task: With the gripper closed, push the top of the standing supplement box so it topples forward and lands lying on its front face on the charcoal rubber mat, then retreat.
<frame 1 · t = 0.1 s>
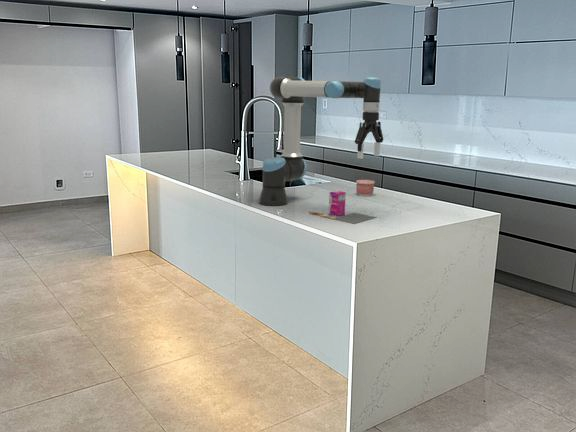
hand: (368, 157, 264), 28 cm above the countertop, fingers open, 13 cm apart
supplement box: (336, 215, 268), on the countertop
mat: (354, 218, 261), on the countertop
container: (364, 195, 319), on the countertop
turner: (323, 216, 263), on the countertop, touching mat
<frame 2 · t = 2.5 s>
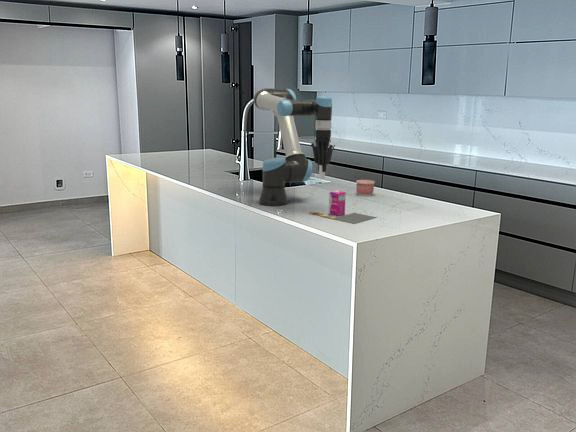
hand: (321, 178, 270), 17 cm above the countertop, fingers closed
nothing on the countertop moved.
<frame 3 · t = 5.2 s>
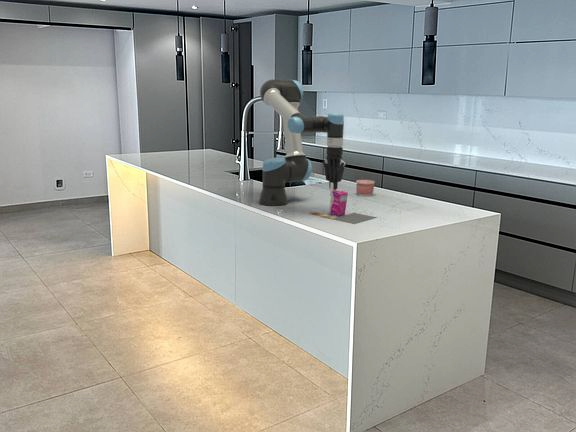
hand: (333, 195, 267), 9 cm above the countertop, fingers closed
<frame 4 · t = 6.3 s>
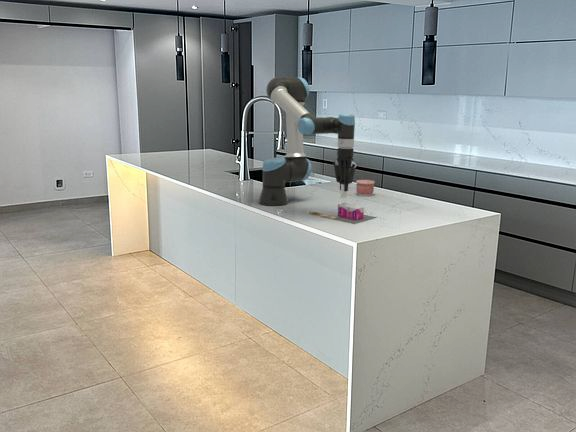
hand: (343, 197, 263), 9 cm above the countertop, fingers closed
supplement box: (340, 209, 265), point 3 cm above the countertop, touching mat
everything else where it was.
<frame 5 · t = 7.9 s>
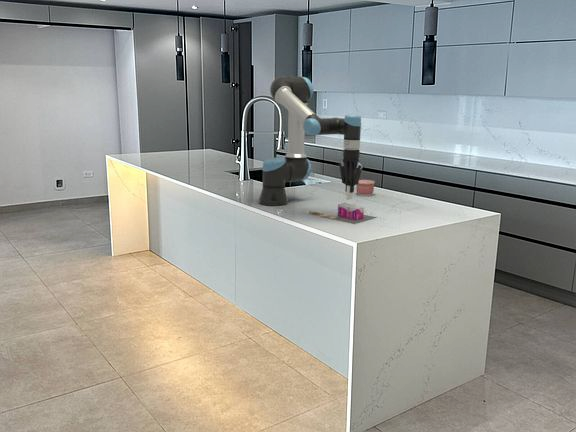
hand: (349, 199, 261), 9 cm above the countertop, fingers closed
nothing on the countertop moved.
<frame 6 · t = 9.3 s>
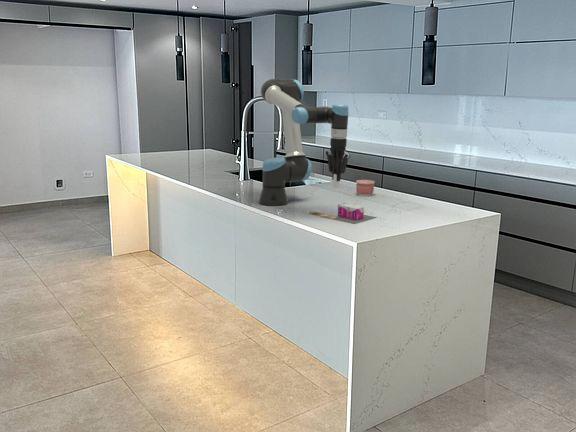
hand: (335, 187, 266), 13 cm above the countertop, fingers closed
nothing on the countertop moved.
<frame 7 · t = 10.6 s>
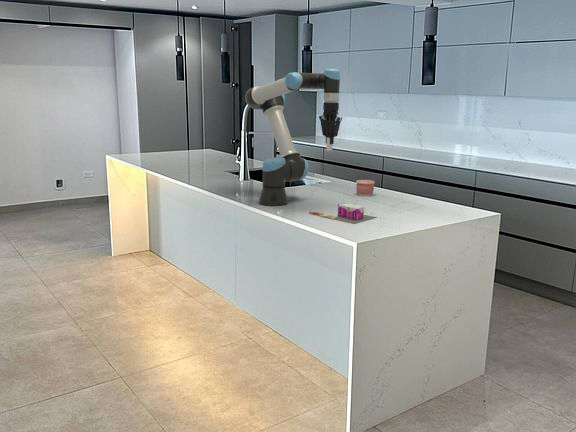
hand: (329, 150, 274), 29 cm above the countertop, fingers closed
nothing on the countertop moved.
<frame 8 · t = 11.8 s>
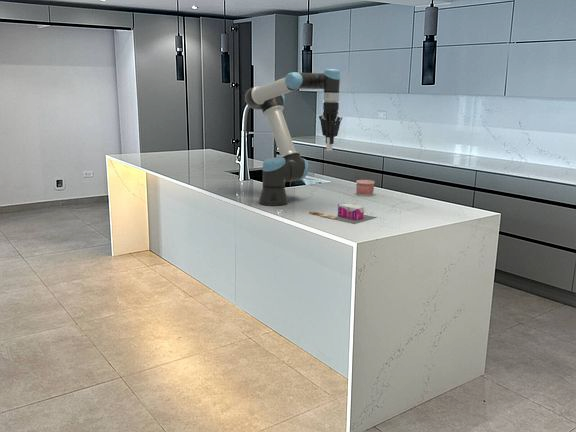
hand: (329, 150, 275), 29 cm above the countertop, fingers closed
nothing on the countertop moved.
at the end: supplement box tilted 90°; supplement box inside the target area (8.0 cm from its centre), point 3.2 cm above the countertop; supplement box moved 4.1 cm from its start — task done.
